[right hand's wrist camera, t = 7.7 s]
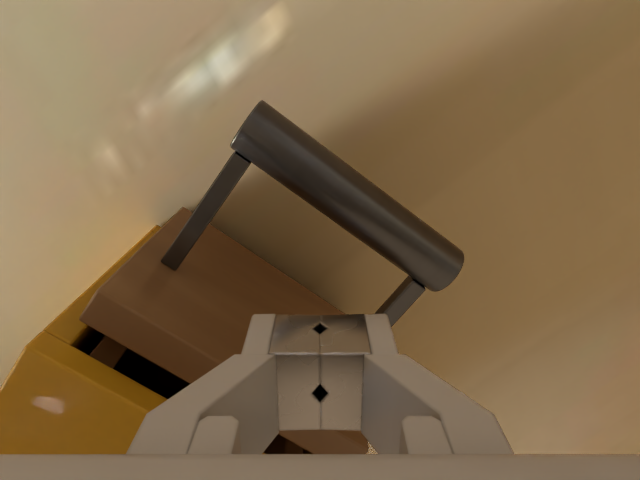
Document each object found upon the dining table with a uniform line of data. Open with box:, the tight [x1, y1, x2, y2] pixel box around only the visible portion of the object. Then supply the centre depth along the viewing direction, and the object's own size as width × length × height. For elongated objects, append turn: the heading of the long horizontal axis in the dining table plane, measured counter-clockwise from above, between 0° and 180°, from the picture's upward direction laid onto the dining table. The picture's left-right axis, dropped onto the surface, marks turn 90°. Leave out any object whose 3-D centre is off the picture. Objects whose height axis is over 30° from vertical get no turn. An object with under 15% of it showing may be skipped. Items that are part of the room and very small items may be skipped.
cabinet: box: [0, 225, 312, 454], centre depth 19 cm, size 15×11×10 cm
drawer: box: [79, 100, 464, 454], centre depth 18 cm, size 20×9×8 cm, turn 143°
